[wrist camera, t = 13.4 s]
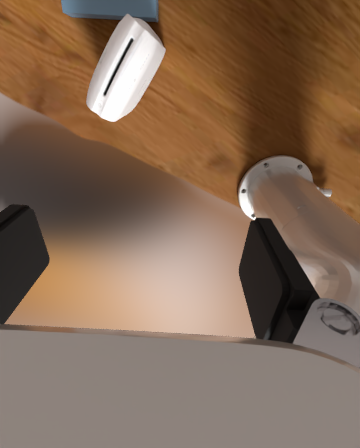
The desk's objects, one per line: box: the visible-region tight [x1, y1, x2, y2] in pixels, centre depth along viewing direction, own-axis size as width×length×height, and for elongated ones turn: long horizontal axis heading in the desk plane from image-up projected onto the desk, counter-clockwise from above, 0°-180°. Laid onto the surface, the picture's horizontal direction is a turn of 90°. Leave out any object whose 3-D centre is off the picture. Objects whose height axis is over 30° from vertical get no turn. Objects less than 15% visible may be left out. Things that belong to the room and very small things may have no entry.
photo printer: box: [86, 14, 166, 122], centre depth 27 cm, size 10×4×12 cm, turn 143°
